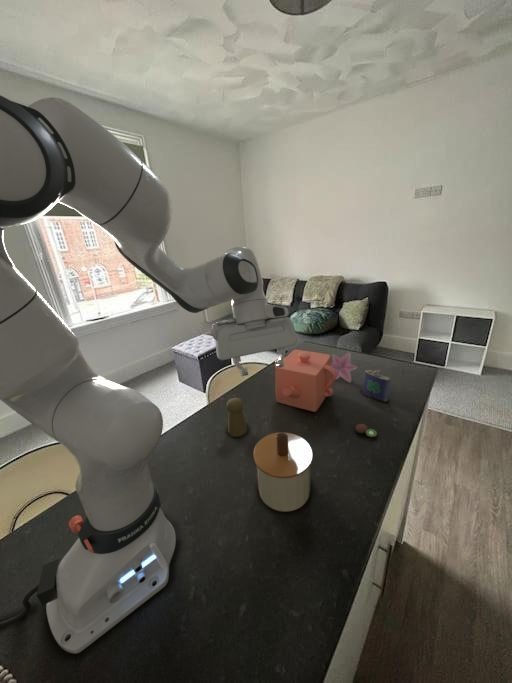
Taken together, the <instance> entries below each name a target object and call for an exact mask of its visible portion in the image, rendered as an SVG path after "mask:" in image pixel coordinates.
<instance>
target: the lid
mask: <svg viewBox="0 0 512 683" xmlns="http://www.w3.org/2000/svg"><path fill="white" fill-rule="evenodd" d="M253 461H254V463H255V465H257V467H258V468H259V469H260V470H261V471H262V472H264V473H265V474H267V475H269V476H272V477H275V478H292V477H296V476H298V475H300V474H302V473H304V472H305V471H306V470H307V469H308V468H309V466H310V465H312V462H313V449H312V447H311V446H310V444H309V442H307V440H306V439H305V438H303V437H301V436H299V435H298V434H294V433H291V432H282V431H281V432H275V433H270V434H267V435H266V436H264V437H263V438H261V439H260V440H259V441H258V442H257V443H256V444H255V447H254V448H253ZM310 467H311V466H310Z"/></svg>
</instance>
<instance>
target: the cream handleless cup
mask: <svg viewBox="0 0 512 683" xmlns="http://www.w3.org/2000/svg"><path fill="white" fill-rule="evenodd" d="M255 465H256V464H255ZM311 465H312V464H311ZM311 465H310V466H309V468H308V469H307V470H306V471H305V472H304V473H302V474H300V475H298V476H296V477H292V478H275V477H272V476H269V475H267V474H265V473H264V472H262V471H261V470H260V469H259V468H258V467H257V465H256V476H257V477H256V478H257V489H258V494H259V497H260V499H261V500H262V502H263V503H264V504H265V505H266V506H267V507H269V508H271V509H272V510H275V511H278V512H284V513H285V512H286V513H287V512H292V511H296V510H298V509H300V508H302V507H303V506H304V505H305V504H306V503H307V501H308V499H309V498H310V495H311V494H310V493H311Z"/></svg>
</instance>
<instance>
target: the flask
mask: <svg viewBox="0 0 512 683" xmlns="http://www.w3.org/2000/svg"><path fill="white" fill-rule="evenodd" d="M380 372H381V370H379V369H375V370H374V371H373V370H372V369H366V370H365V371H364V375H363V376H364V377H363V383H362V384H363V385H362V394H363V395H365V396H367V397H369V398H372V399H374V400H376V401H379V402H383V403H386V402H388V399H389V392H390V383H391V378H390V377H389V376H386V375H383V374H380Z"/></svg>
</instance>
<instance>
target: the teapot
mask: <svg viewBox="0 0 512 683" xmlns="http://www.w3.org/2000/svg"><path fill="white" fill-rule="evenodd" d="M283 362H284V367H280V368H277V367H276V363H274V368H275V383H274V384H275V386H274V387H275V389H274V390H275V400H276V402H277V403H279V404H283V405H287V406H290V407H294V408H298V409H301V410H306V411H309V412H314V413H316V412H317V411H318V410H319V408H320V407H321V405H322V404H323V402H324V400H325V399H326V397H331V396H333V395H334V389H333V388H332V387H331V386H332V385H333V384H334V383H335V382H336V380H337V379H336V377H337V373H336V371H335V370H334V368H332V367H331V363H332V354H327V353H323V352H314V351H308V350H303V349H293V350H292V351H291V352H289V354H288V355H287V356H284V359H283Z"/></svg>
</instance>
